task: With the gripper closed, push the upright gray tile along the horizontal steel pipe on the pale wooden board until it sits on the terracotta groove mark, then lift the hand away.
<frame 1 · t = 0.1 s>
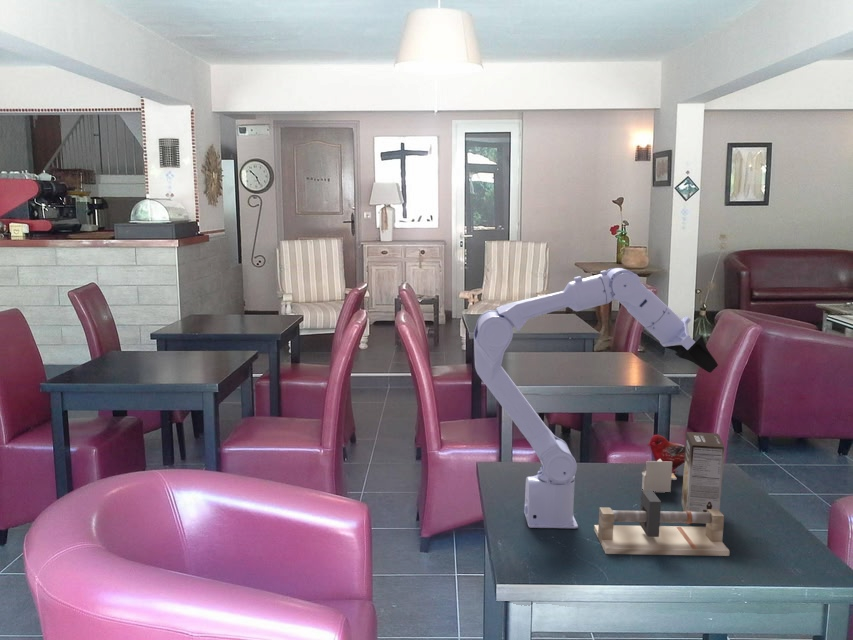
hand: (706, 364, 144), 32 cm above the table, tool tilted 50°, fingers open, 7 cm apart
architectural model: (655, 493, 166), on the table
coffee box: (699, 516, 153), on the table
upright gray tile: (650, 513, 139), point 6 cm above the table, slide at 0.0 cm
decorative bird figurine: (676, 474, 176), on the table
pipe board: (659, 542, 140), on the table
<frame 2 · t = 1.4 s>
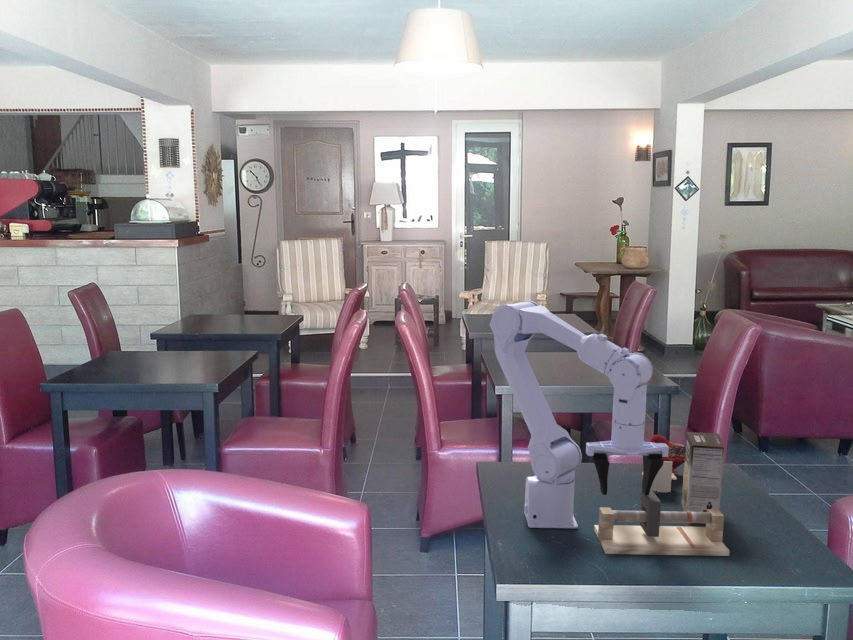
hand: (624, 493, 138), 9 cm above the table, tool pointing down, fingers open, 7 cm apart
nothing on the table moved.
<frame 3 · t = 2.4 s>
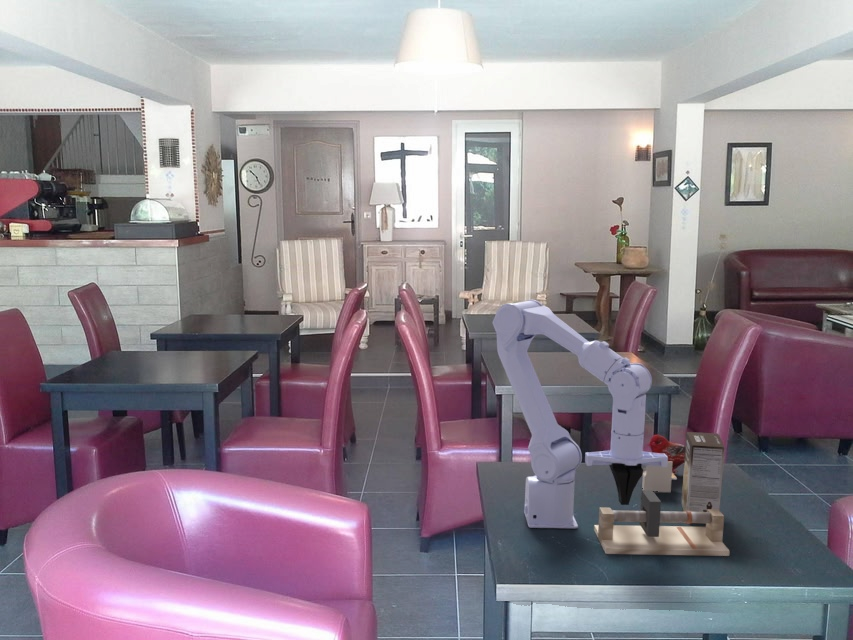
hand: (623, 502, 139), 8 cm above the table, tool pointing down, fingers closed
nothing on the table moved.
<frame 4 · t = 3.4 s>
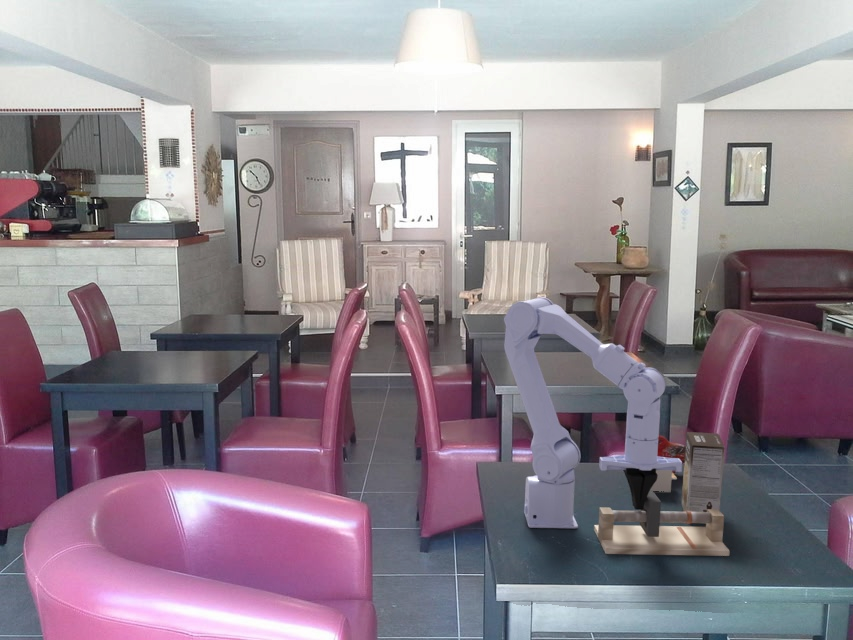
hand: (637, 507, 139), 7 cm above the table, tool pointing down, fingers closed
upright gray tile: (650, 513, 139), point 6 cm above the table, slide at 0.0 cm, touching gripper
everything else where it was.
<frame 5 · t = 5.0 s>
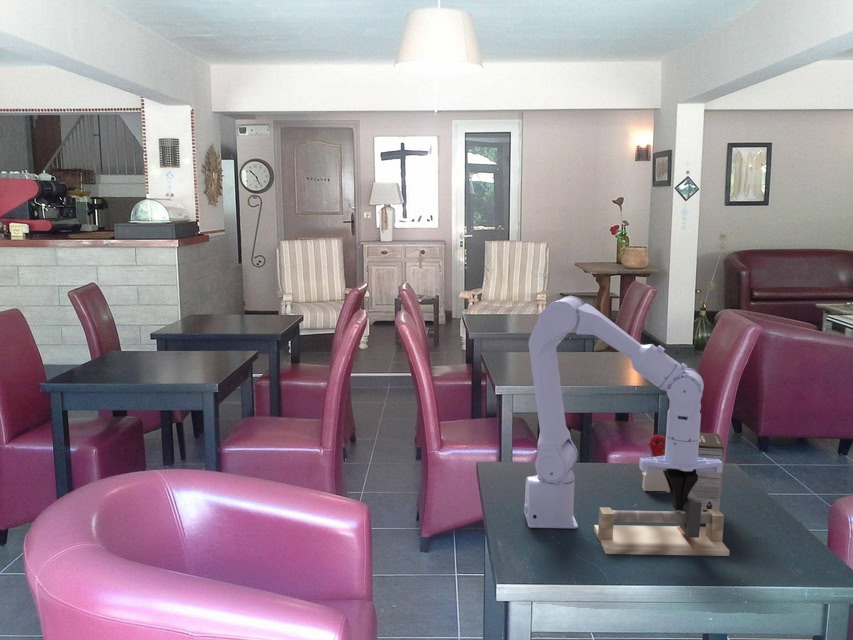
hand: (677, 508, 139), 7 cm above the table, tool pointing down, fingers closed
upright gray tile: (689, 513, 139), point 6 cm above the table, slide at 7.3 cm, touching gripper
everything else where it was.
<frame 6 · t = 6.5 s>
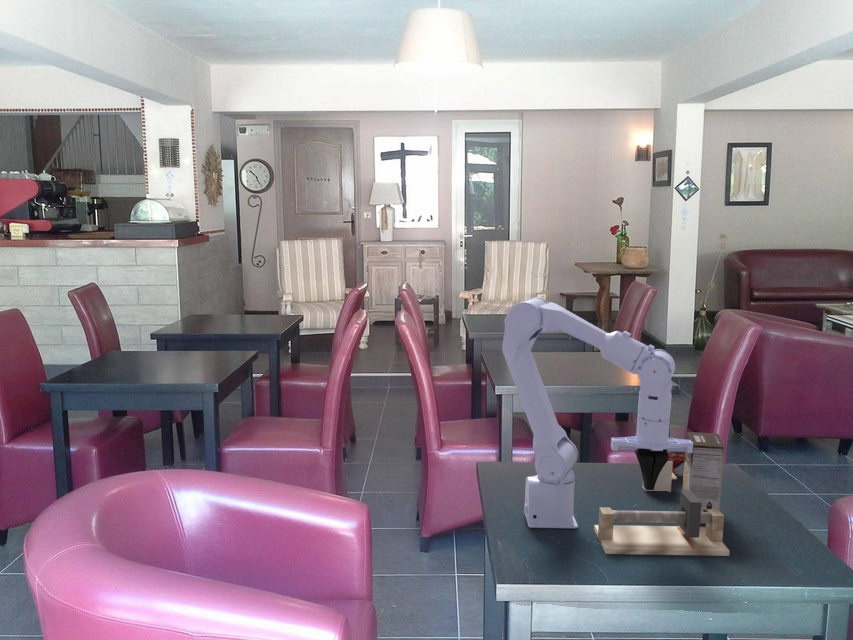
hand: (648, 488, 140), 10 cm above the table, tool pointing down, fingers closed
upright gray tile: (689, 513, 139), point 6 cm above the table, slide at 7.3 cm
everything else where it was.
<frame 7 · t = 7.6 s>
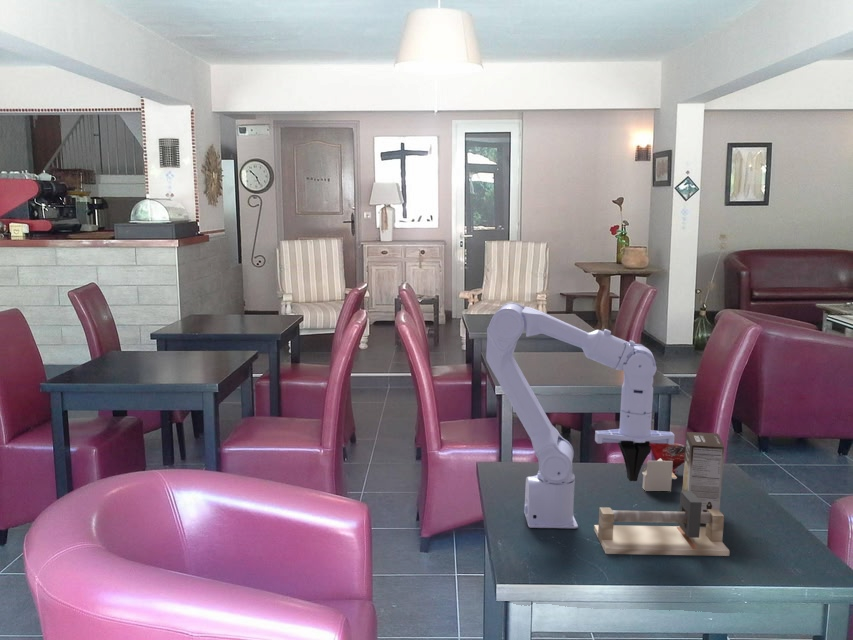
hand: (632, 479, 144), 10 cm above the table, tool pointing down, fingers closed
nothing on the table moved.
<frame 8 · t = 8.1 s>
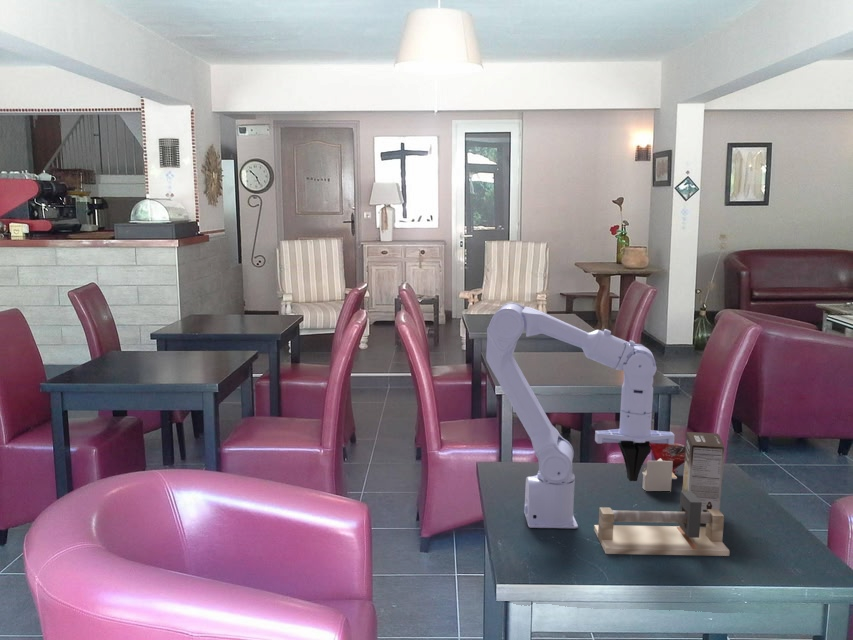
hand: (632, 479, 144), 10 cm above the table, tool pointing down, fingers closed
nothing on the table moved.
at the end: upright gray tile slide at 7.3 cm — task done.
